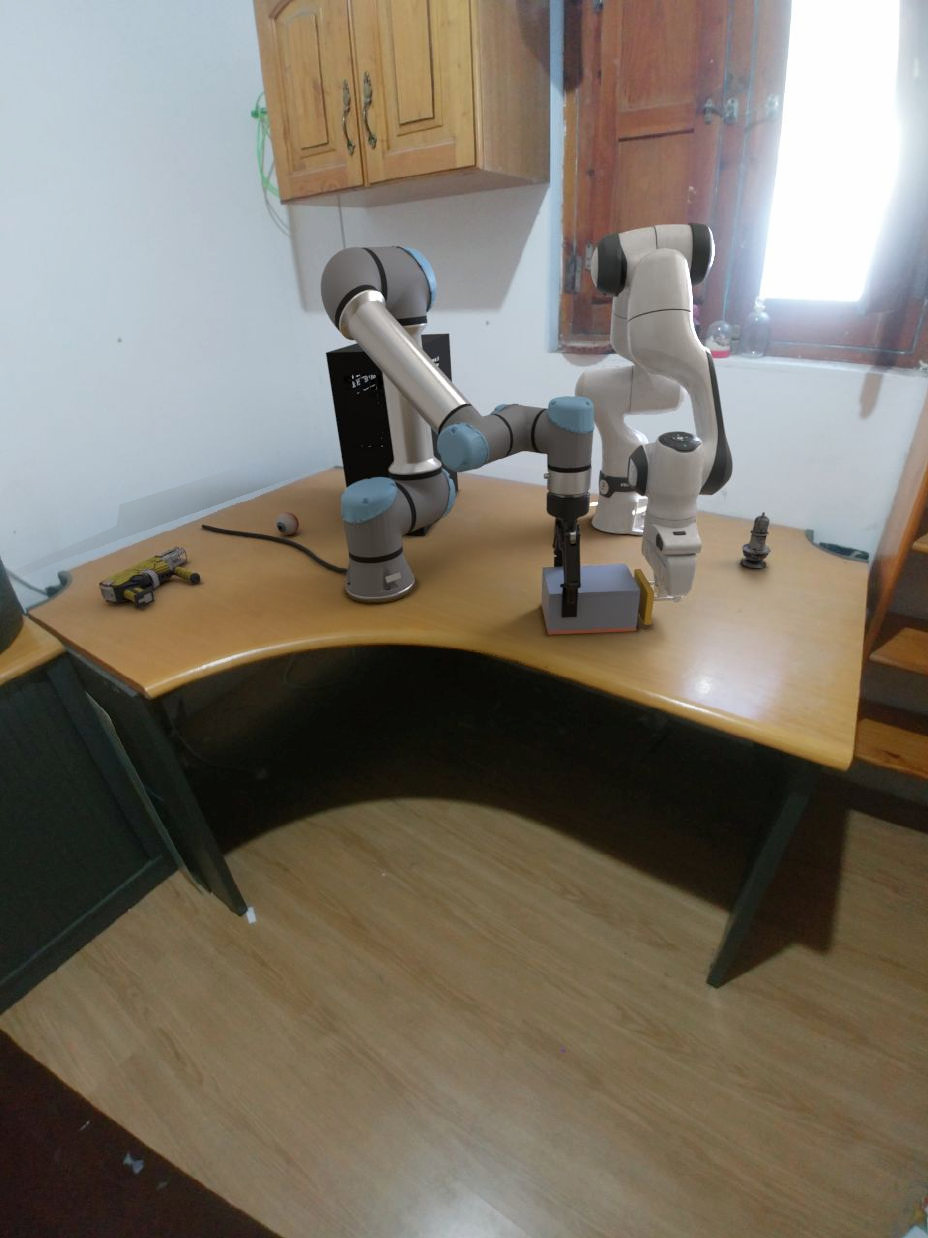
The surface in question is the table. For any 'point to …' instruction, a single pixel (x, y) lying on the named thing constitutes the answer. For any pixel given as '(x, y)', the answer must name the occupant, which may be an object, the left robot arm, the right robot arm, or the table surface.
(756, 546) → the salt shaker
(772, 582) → the table surface
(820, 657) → the table surface
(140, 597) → the toy gun
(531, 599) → the table surface
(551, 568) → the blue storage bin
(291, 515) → the eyeball
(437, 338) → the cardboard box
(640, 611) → the drawer
